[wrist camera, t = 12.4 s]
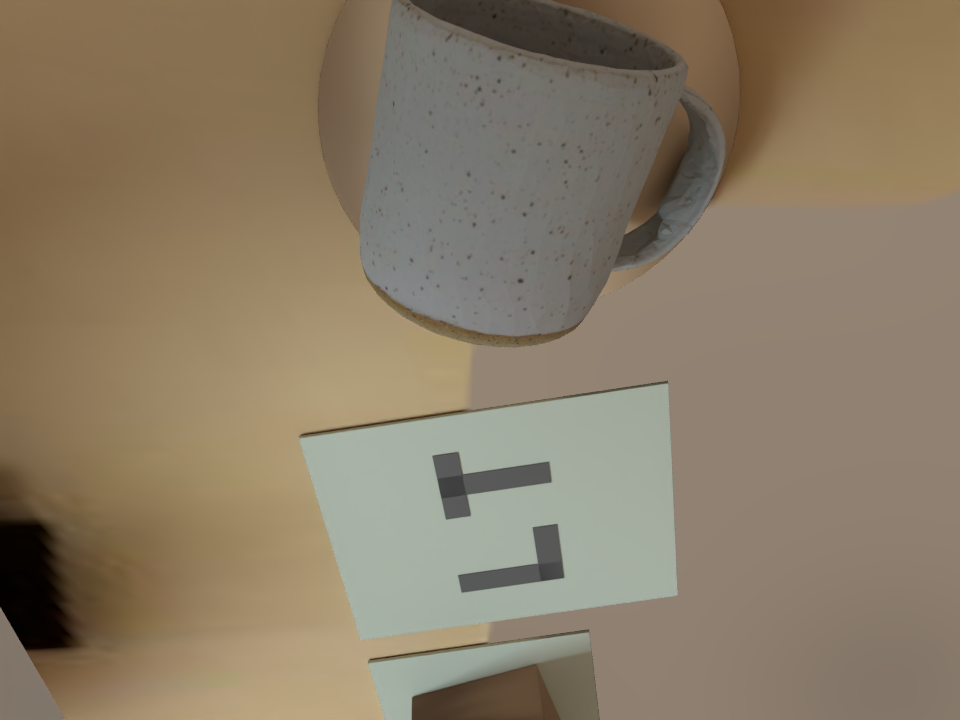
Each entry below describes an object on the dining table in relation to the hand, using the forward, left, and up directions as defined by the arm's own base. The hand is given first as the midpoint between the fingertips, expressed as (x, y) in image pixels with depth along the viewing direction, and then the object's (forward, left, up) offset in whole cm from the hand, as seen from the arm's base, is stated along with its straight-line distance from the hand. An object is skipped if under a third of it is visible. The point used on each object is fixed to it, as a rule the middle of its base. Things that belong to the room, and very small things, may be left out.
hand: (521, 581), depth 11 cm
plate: (-3, -28, -19) cm, 34 cm away
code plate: (-1, -16, -19) cm, 25 cm away
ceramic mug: (+2, 0, -19) cm, 19 cm away
